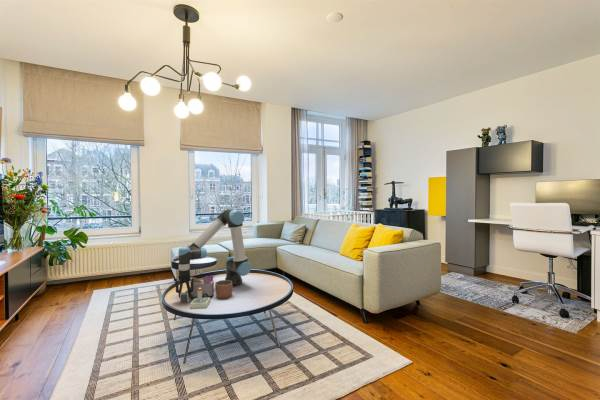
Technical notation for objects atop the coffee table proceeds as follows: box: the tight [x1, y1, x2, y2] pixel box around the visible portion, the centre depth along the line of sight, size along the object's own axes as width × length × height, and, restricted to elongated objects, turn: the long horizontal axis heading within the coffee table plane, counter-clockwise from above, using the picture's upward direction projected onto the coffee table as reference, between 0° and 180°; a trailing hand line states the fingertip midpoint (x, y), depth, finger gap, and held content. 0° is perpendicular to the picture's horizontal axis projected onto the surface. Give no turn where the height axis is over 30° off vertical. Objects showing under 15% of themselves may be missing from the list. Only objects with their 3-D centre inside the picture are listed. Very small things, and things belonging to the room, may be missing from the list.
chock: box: [180, 292, 188, 304], centre depth 205 cm, size 4×5×6 cm
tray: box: [189, 296, 211, 309], centre depth 199 cm, size 11×11×4 cm
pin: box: [197, 287, 203, 303], centre depth 198 cm, size 4×4×12 cm
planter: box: [214, 279, 233, 300], centre depth 215 cm, size 12×12×11 cm
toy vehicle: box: [184, 275, 215, 300], centre depth 215 cm, size 9×20×15 cm, turn 95°
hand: (184, 301), depth 205 cm, fingers closed on chock, 4 cm apart
